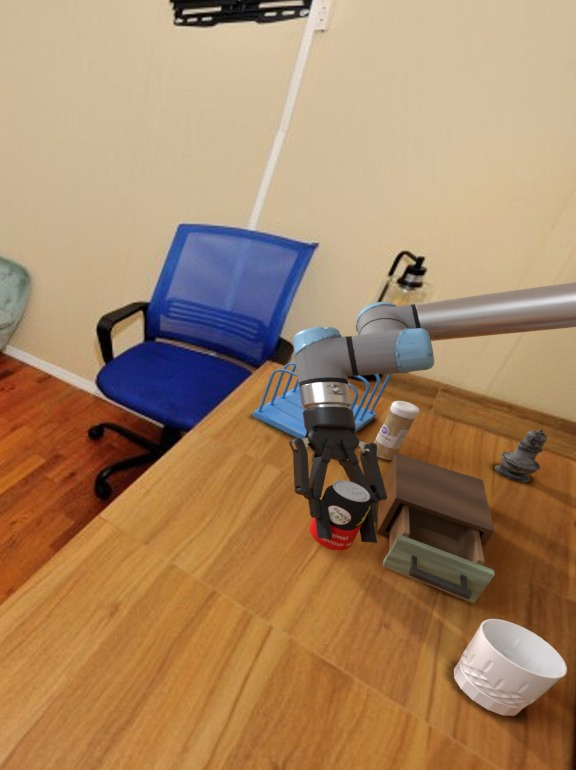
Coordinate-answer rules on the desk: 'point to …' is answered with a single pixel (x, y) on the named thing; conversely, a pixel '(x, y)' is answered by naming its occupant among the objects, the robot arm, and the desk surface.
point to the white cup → (507, 667)
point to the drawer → (437, 553)
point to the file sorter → (290, 412)
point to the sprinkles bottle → (395, 429)
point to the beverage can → (343, 514)
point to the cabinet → (434, 495)
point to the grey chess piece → (523, 457)
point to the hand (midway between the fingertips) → (347, 540)
